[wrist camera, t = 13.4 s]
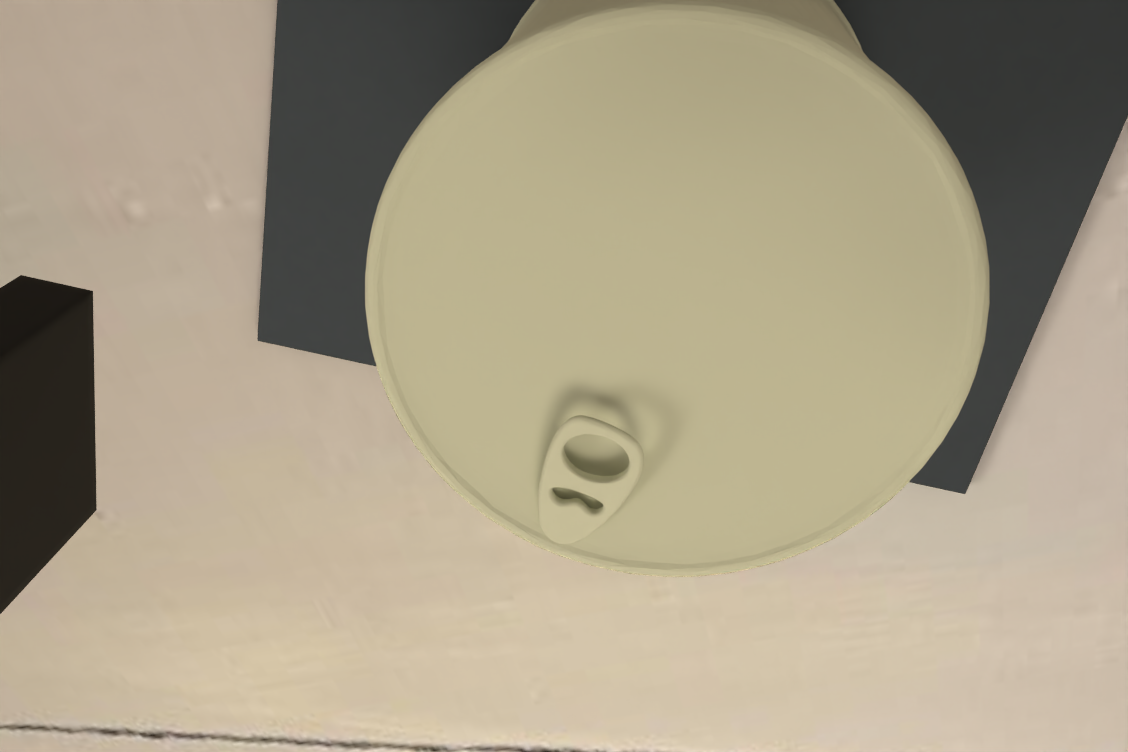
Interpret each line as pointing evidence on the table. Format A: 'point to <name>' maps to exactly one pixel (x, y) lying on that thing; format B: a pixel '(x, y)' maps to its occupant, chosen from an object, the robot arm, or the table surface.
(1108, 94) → the mat
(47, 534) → the robot arm
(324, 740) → the table surface
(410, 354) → the can
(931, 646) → the table surface
